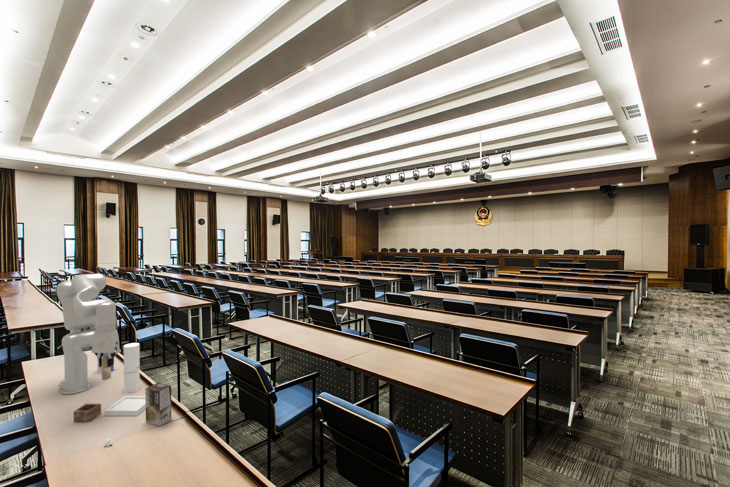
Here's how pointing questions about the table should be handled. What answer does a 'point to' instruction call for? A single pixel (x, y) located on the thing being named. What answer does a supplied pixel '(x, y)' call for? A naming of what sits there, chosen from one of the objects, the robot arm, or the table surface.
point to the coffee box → (158, 404)
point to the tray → (127, 406)
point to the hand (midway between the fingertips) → (106, 365)
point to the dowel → (105, 368)
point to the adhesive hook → (108, 442)
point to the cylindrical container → (131, 367)
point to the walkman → (101, 366)
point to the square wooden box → (87, 412)
